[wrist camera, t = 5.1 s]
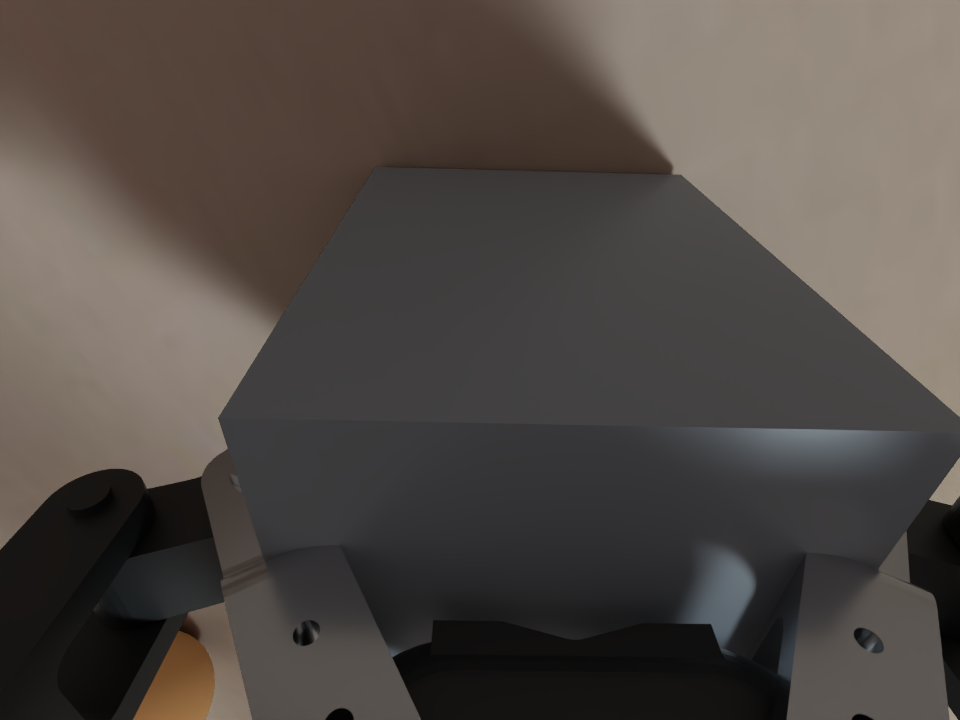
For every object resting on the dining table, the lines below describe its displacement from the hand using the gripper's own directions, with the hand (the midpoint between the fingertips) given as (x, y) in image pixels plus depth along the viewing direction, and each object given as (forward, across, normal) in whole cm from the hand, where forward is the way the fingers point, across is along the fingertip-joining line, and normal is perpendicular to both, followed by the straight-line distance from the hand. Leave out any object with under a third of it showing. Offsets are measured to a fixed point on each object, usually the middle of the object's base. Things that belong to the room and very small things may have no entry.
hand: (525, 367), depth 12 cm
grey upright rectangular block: (+3, 0, 0) cm, 3 cm away
